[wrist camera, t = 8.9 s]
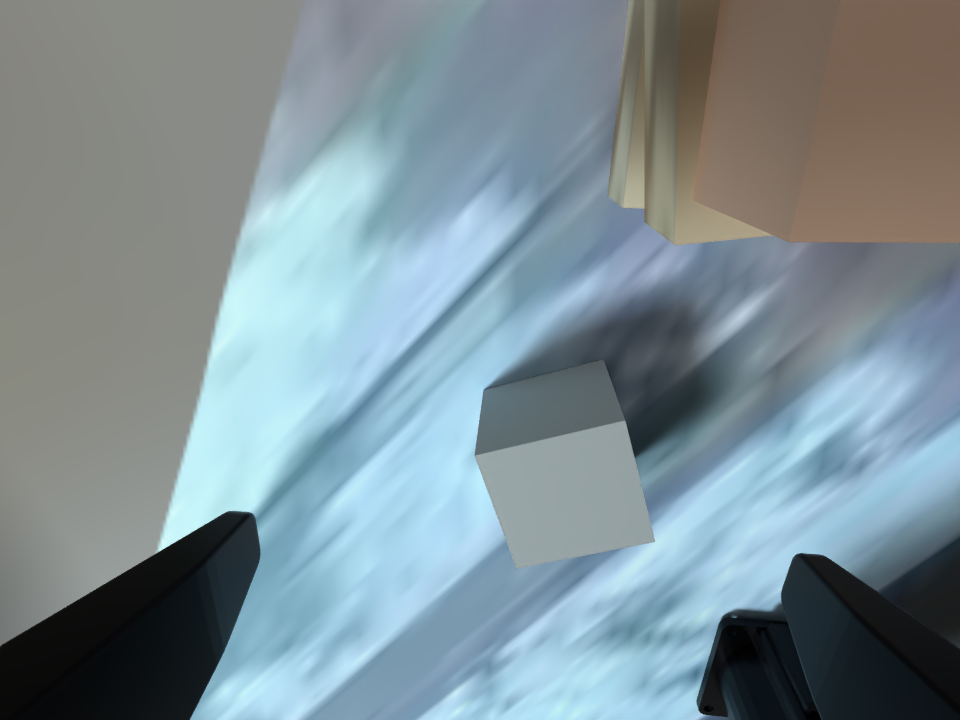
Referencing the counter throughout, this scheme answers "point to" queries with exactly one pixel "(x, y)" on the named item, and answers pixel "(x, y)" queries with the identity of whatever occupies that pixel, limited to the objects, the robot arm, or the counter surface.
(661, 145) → the beige squat block
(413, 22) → the counter surface
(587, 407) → the grey block
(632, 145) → the olive tan squat block
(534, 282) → the counter surface
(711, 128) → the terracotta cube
